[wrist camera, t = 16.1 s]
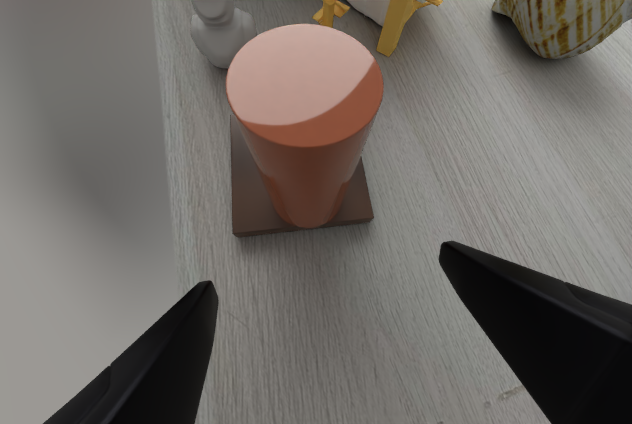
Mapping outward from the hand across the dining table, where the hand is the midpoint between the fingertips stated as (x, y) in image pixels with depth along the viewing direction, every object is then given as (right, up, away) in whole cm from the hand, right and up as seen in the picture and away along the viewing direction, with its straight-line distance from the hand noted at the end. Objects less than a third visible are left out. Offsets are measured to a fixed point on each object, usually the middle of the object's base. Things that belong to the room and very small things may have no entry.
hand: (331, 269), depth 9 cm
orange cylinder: (-1, +4, +8) cm, 9 cm away
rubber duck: (-9, +17, +14) cm, 24 cm away
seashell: (+22, +21, +16) cm, 34 cm away
